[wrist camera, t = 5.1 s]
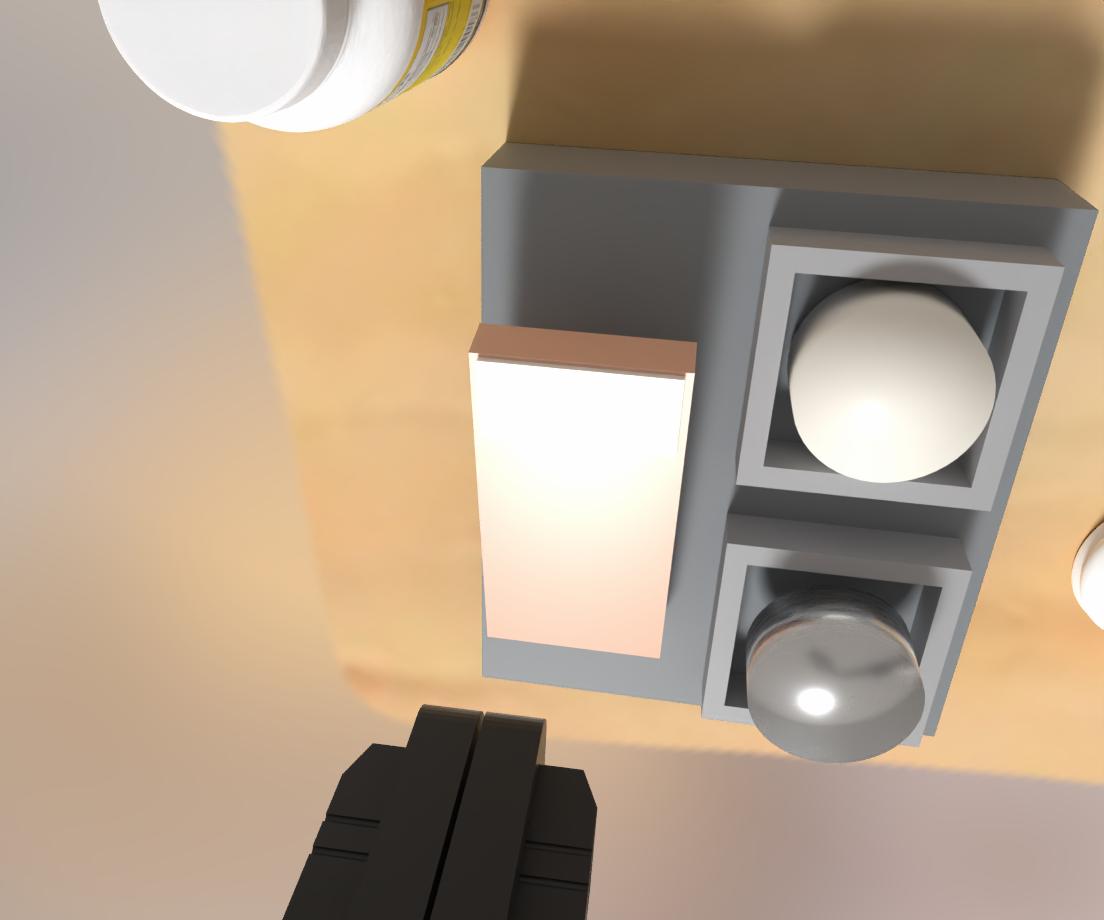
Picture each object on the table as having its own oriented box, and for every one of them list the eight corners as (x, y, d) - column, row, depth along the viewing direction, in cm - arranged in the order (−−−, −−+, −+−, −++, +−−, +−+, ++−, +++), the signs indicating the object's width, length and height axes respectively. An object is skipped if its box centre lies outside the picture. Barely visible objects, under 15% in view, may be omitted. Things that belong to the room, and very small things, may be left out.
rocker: (697, 342, 22) (694, 377, 21) (662, 625, 28) (659, 662, 27) (480, 323, 22) (467, 356, 21) (495, 605, 29) (486, 640, 28)
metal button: (927, 595, 25) (943, 644, 23) (893, 719, 27) (904, 773, 26) (757, 575, 26) (759, 622, 24) (736, 699, 28) (736, 750, 26)
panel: (1058, 179, 24) (1123, 228, 20) (916, 670, 32) (944, 774, 28) (505, 142, 26) (466, 181, 22) (500, 618, 33) (471, 709, 30)
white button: (996, 285, 22) (1019, 316, 21) (950, 451, 24) (968, 492, 23) (802, 269, 23) (808, 298, 21) (774, 434, 25) (778, 472, 23)
